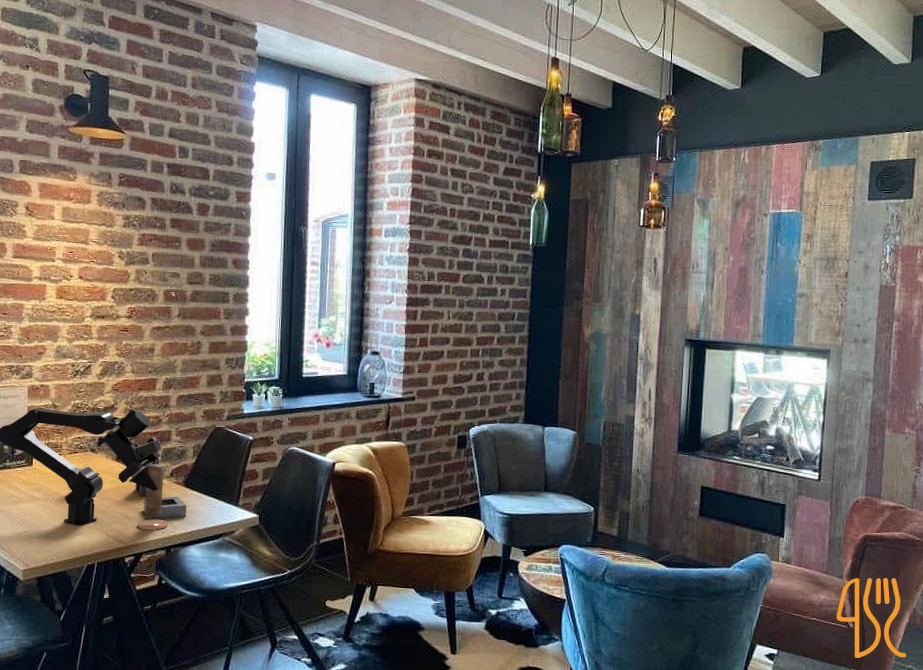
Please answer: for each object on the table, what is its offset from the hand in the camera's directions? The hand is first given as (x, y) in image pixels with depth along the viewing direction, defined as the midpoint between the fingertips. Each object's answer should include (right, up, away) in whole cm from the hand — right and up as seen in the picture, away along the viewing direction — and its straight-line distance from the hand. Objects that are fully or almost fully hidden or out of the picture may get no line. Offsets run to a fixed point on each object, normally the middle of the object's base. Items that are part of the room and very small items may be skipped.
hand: (159, 487), depth 232 cm
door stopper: (-17, -8, +34) cm, 39 cm away
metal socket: (-3, -10, +13) cm, 17 cm away
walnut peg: (-2, -7, 0) cm, 8 cm away
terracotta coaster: (-2, -11, +1) cm, 12 cm away
